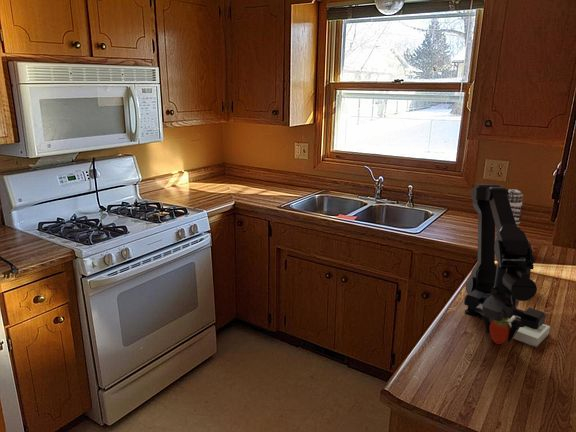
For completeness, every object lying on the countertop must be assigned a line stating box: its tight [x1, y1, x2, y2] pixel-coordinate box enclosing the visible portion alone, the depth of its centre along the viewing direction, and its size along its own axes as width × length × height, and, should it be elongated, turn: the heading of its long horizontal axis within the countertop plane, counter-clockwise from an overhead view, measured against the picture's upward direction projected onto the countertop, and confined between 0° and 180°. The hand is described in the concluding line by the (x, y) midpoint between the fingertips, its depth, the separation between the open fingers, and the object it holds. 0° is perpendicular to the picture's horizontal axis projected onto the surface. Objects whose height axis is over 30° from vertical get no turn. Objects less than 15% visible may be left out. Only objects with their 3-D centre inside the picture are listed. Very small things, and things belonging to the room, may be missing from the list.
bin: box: [506, 315, 551, 348], centre depth 125 cm, size 9×9×2 cm
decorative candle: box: [495, 188, 524, 240], centre depth 191 cm, size 9×9×25 cm
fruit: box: [489, 318, 511, 345], centre depth 119 cm, size 5×5×8 cm
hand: (498, 337), depth 120 cm, fingers closed on fruit, 5 cm apart
